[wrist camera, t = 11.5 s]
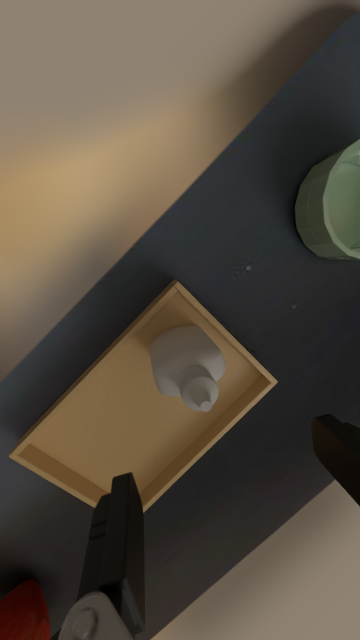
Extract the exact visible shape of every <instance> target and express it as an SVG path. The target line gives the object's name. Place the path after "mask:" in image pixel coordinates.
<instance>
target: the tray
mask: <svg viewBox="0 0 360 640" xmlns="http://www.w3.org/2000/svg"><path fill="white" fill-rule="evenodd" d="M182 325H196V326H199V327H201V329H202V330H203V331H204V332H205V333H206V334H207V335H208V336H209V337H210V338H211V340H212V341H213V342H214V343H215V344H216V345H217V346H218V348H219V349H220V350H221V352H222V355H223V358H224V361H225V366H226V371H225V373H224V375H223V376H222V377H221V378H220V379H219V380H218V381H217V382H216V383H217V386H218V388H219V389H218V390H219V393H218V398H217V400H216V402H215V403H214V404H213V405H212V408H211V410H210V411H208V412H204V411H202V410H201V411H196V410H192V409H189V408H188V407H186V405H185V404H184V402H183V400H182V397H181V396H167V395H163V394H161V393H160V392H159V390H158V388H157V386H156V383H155V380H154V377H153V372H152V366H151V357H150V348H149V344H150V342H151V341H152V340H153V339H154V338H155V337H156V336H157V335H159V334H160V333H162V332H164V331H166V330H168V329H170V328H173V327H177V326H182ZM277 383H278V381H277V380H276V379H275V378H274V377H273V376H272V375H271V374H270V373H269V372H268V371H267V370H266V369H265V368H264V367H263V366H262V365H261V364H260V363H259V362H258V361H257V360H256V359H255V358H254V357H253V356H252V355H251V354H250V353H249V352H248V351H247V350H246V349H245V348H244V347H243V346H242V345H241V344H240V343H239V342H238V341H237V340H236V339H235V338H234V337H233V336H232V335H231V334H230V333H229V332H228V331H227V330H226V329H225V328H224V327H223V326H222V325H221V324H220V323H219V322H218V321H217V320H216V319H215V318H214V317H213V316H212V315H211V314H210V313H209V312H208V311H207V310H206V309H205V308H204V307H203V306H202V305H201V304H200V303H199V302H198V301H197V300H196V299H195V298H194V297H193V296H192V295H191V294H190V293H189V292H188V291H187V290H186V289H185V288H184V287H183V286H182V285H181V284H180V283H179V282H178V281H177V280H175V279H174V280H173V281H172V282H171V283H170V284H169V285H168V286H167V287H166V288H165V289H164V290H163V291H162V292H161V293H160V294H159V295H158V296H157V297H156V298H155V299H154V300H153V301H152V302H151V303H150V304H149V305H148V307H147V308H146V309H145V310H144V311H143V312H142V313H141V314H140V315H139V316H138V317H137V318H136V319H135V320H134V321H133V322H132V323H131V324H130V325H129V326H128V327H127V328H126V329H125V330H124V331H123V332H122V333H121V334H120V335H119V337H118V338H117V339H116V340H115V341H114V342H113V343H112V344H111V345H110V346H109V347H108V348H107V349H106V350H105V351H104V352H103V353H102V354H101V355H100V356H99V357H98V358H97V359H96V360H95V361H94V362H93V363H92V364H91V365H90V366H89V368H88V369H87V370H86V371H85V372H84V373H83V374H82V375H81V376H80V377H79V378H78V379H77V380H76V381H75V382H74V383H73V384H72V385H71V386H70V387H69V388H68V389H67V390H66V391H65V392H64V393H63V394H62V395H61V396H60V398H59V399H58V400H57V401H56V402H55V403H54V404H53V405H52V406H51V407H50V408H49V409H48V410H47V411H46V412H45V413H44V414H43V415H42V416H41V417H40V418H39V419H38V420H37V421H36V422H35V423H34V424H33V425H32V426H31V427H30V429H29V430H28V431H27V432H26V433H25V434H24V435H23V436H22V437H21V438H20V440H19V441H18V443H17V444H16V446H15V447H14V448H13V450H12V451H11V453H10V454H9V456H8V457H10V458H11V459H13V460H15V461H16V462H18V463H20V464H21V465H23V466H25V467H26V468H28V469H30V470H31V471H33V472H35V473H37V474H38V475H40V476H42V477H43V478H45V479H47V480H48V481H50V482H52V483H53V484H55V485H57V486H58V487H60V488H62V489H64V490H65V491H67V492H69V493H70V494H72V495H74V496H75V497H77V498H79V499H80V500H82V501H84V502H85V503H87V504H89V505H91V506H92V507H94V508H95V507H96V505H97V503H98V502H99V500H100V498H101V496H103V495H106V494H109V493H111V486H112V479H113V477H115V476H118V475H122V474H125V473H128V472H132V473H133V476H134V479H135V482H136V485H137V488H138V492H139V495H140V498H141V502H142V507H143V513H144V512H145V511H146V510H147V509H148V508H149V507H150V506H151V505H152V504H153V503H154V502H155V501H156V500H157V499H158V498H159V497H160V496H161V495H162V494H163V493H164V492H165V491H166V490H167V489H168V488H169V487H170V486H171V485H172V484H173V483H175V482H176V481H177V480H178V479H179V478H180V477H181V476H182V475H183V474H184V473H185V472H186V471H187V470H188V469H189V468H190V467H191V466H192V465H193V464H194V463H195V462H196V461H197V460H198V459H199V458H200V457H201V456H202V455H203V454H204V453H205V452H206V451H207V450H209V449H210V448H211V447H212V446H213V445H214V444H215V443H216V442H217V441H218V440H219V439H220V438H221V437H222V436H223V435H224V434H225V433H226V432H227V431H228V430H229V429H230V428H231V427H232V426H233V425H234V424H235V423H236V422H237V421H238V420H239V419H240V418H242V417H243V416H244V415H245V414H246V413H247V412H248V411H249V410H250V409H251V408H252V407H253V406H254V405H255V404H256V403H257V402H258V401H259V400H260V399H261V398H262V397H263V396H264V395H265V394H266V393H267V392H268V391H269V390H270V389H271V388H272V387H273V386H274V385H276V384H277Z"/></svg>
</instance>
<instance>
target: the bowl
mask: <svg viewBox="0 0 360 640" xmlns="http://www.w3.org/2000/svg"><path fill="white" fill-rule="evenodd" d="M295 218H296V228H297V230H298V232H299V234H300V237H301V239H302V241H303V243H304V245H305V246H306V247H307V248H309V249H310V250H311V251H312V252H314V253H315V254H316V255H317V256H319V257H323V258H327V259H332V260H360V138H359V139H357V140H355V141H354V142H352V143H350V144H348V145H346V146H345V147H343V148H341V149H339V150H337V151H336V152H334V153H332V154H330V155H329V156H327V157H326V158H324V159H323V160H322V161H320V162H319V163H317V164H316V165H315V166H313V167H312V169H311V170H310V172H309V173H308V175H307V176H306V178H305V179H304V181H303V182H302V184H301V185H300V188H299V192H298V196H297V200H296V204H295Z"/></svg>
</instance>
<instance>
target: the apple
mask: <svg viewBox="0 0 360 640" xmlns="http://www.w3.org/2000/svg"><path fill="white" fill-rule="evenodd" d="M49 639H50V621H49V612H48V608H47V604H46V601H45V597H44V594H43V591H42V588H41V586H40V584H39V583H38V582H36V581H35V580H32V579H30V580H26V581H25V582H22V583H21V584H19V585H18V586H17V587H16V588H14V589H13V590H12V591H11V592H9V593H8V594H7V595H6V596H5V597H4V598H3V599H2V600H1V601H0V640H49Z"/></svg>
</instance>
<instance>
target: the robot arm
mask: <svg viewBox="0 0 360 640" xmlns="http://www.w3.org/2000/svg"><path fill="white" fill-rule="evenodd" d="M311 425H312V437H313V448H314V451H315V454H316V456H317V458H318V459H319V461H320V462H321V463H322V464H323V466H324V467H325V468H326V469H327V470H328V471H329V472H330V473H331V475H332V476H333V477H334V478H335V479H336V480H337V481H338V482H339V483H340V485H341V486H342V487H343V488H344V489H345V490H346V491H347V492H348V494H349V495H350V496H351V497H352V498H353V499H354V500H355V502H356V503H357V504H358V505H359V506H360V428H358V427H356V426H354V425H351V424H349V423H347V422H346V423H341V422H340V421H339V420H338V419H336V418H335V417H334V416H333V415H331V414H326V415H323V416H319V417H316V418H313V419H312V421H311ZM143 631H145V585H144V516H143V507H142V502H141V498H140V495H139V492H138V488H137V485H136V482H135V479H134V476H133V473H132V472H128V473H125V474H122V475H118V476H115V477H113V479H112V486H111V493H109V494H106V495H103V496H101V498H100V500H99V502H98V503H97V505H96V507H95V509H94V512H93V518H92V523H91V529H90V534H89V541H88V545H87V550H86V556H85V561H84V566H83V572H82V577H81V583H80V588H79V593H78V597H77V600H76V603H75V605H74V606H73V607H72V608H71V610H70V611H69V613H68V614H67V616H66V618H65V620H64V622H63V625H62V627H61V628H60V630H59V631H58V632H57V633H56V634H55V635H54V636H53V637H51V638H50V639H49V640H135V634H137V633H140V632H143Z"/></svg>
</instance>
